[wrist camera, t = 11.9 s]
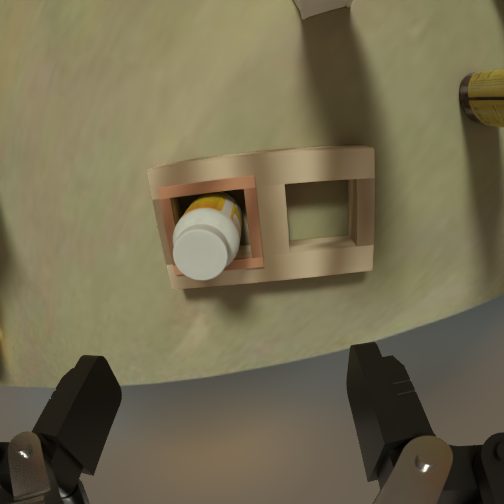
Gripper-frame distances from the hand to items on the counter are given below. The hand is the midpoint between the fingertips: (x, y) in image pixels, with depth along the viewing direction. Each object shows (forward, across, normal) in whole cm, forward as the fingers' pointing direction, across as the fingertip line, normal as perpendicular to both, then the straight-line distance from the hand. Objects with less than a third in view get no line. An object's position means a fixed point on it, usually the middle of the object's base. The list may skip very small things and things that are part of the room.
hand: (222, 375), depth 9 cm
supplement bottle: (+23, +3, +2) cm, 23 cm away
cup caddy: (+23, -2, +2) cm, 23 cm away
